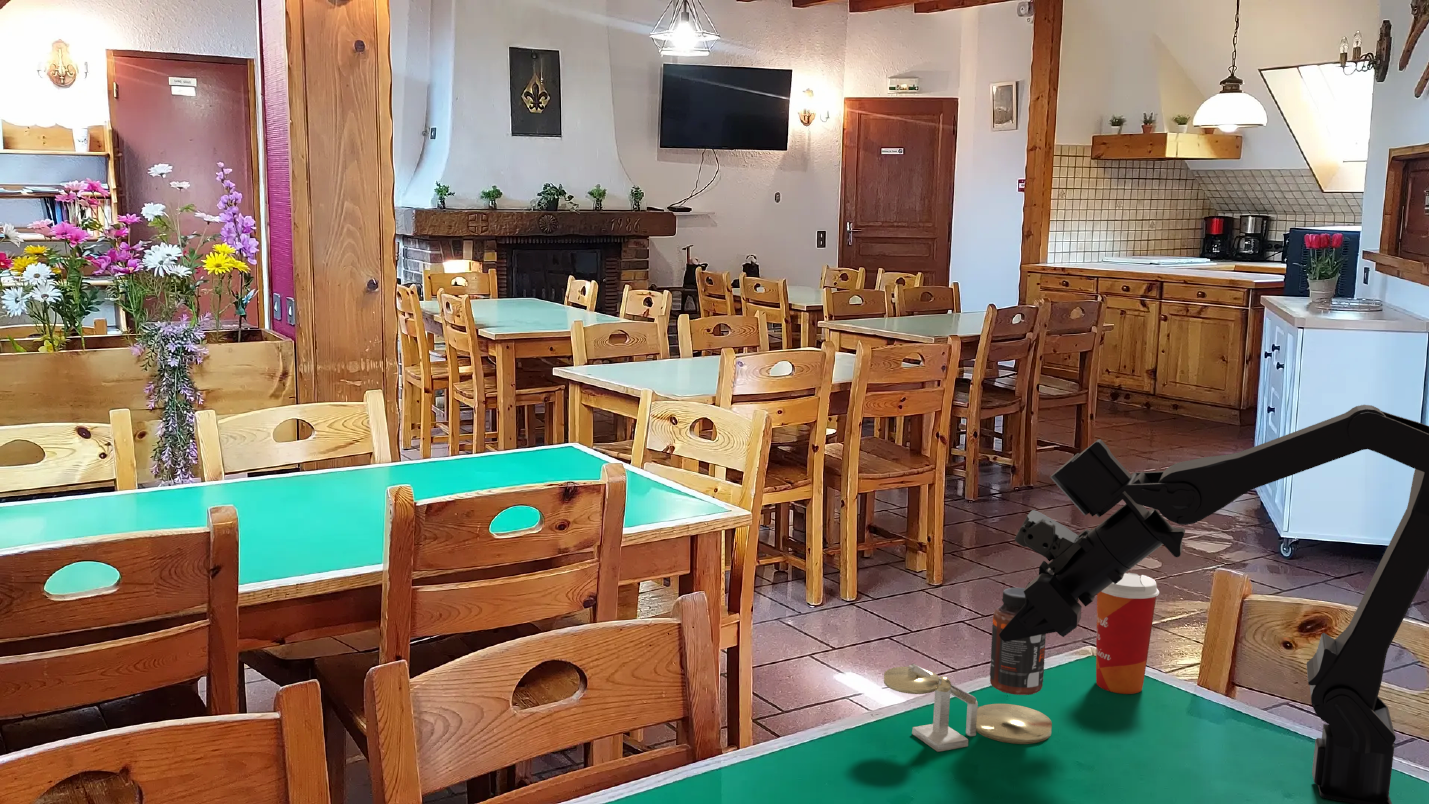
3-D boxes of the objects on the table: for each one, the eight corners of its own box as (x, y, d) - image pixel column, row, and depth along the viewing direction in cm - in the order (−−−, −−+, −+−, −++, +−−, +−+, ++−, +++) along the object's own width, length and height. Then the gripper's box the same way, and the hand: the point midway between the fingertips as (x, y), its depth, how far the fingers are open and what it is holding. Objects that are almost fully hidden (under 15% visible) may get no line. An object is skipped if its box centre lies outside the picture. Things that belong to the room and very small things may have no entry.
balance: (1017, 707, 147) (1022, 632, 145) (1068, 736, 138) (1073, 657, 137) (863, 733, 138) (867, 653, 136) (907, 766, 130) (911, 682, 128)
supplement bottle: (1049, 697, 137) (1054, 600, 135) (995, 697, 137) (1001, 599, 135) (1035, 678, 143) (1040, 584, 141) (984, 677, 143) (989, 583, 141)
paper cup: (1095, 670, 160) (1103, 566, 158) (1156, 682, 156) (1165, 576, 154) (1080, 689, 153) (1088, 581, 151) (1143, 702, 149) (1152, 592, 147)
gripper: (1074, 476, 143) (976, 556, 149) (1049, 508, 126) (940, 597, 132) (1140, 549, 141) (1038, 627, 147) (1124, 592, 124) (1009, 678, 130)
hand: (1006, 630), depth 139 cm, fingers closed on supplement bottle, 6 cm apart
